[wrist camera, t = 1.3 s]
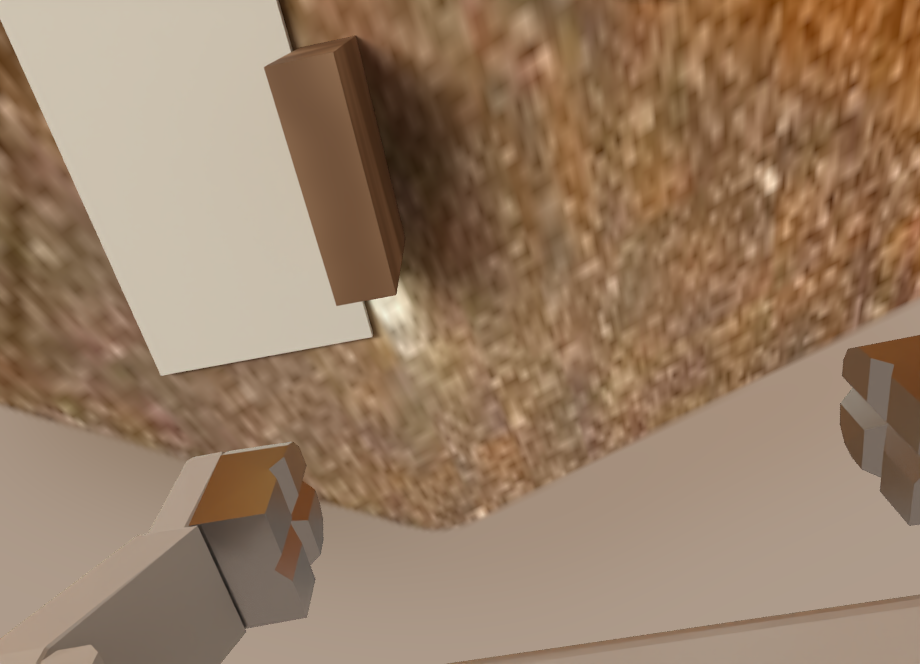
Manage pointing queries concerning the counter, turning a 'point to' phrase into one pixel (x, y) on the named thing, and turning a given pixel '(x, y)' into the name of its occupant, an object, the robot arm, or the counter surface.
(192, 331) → the mat
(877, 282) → the counter surface
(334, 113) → the block
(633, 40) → the counter surface
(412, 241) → the counter surface
